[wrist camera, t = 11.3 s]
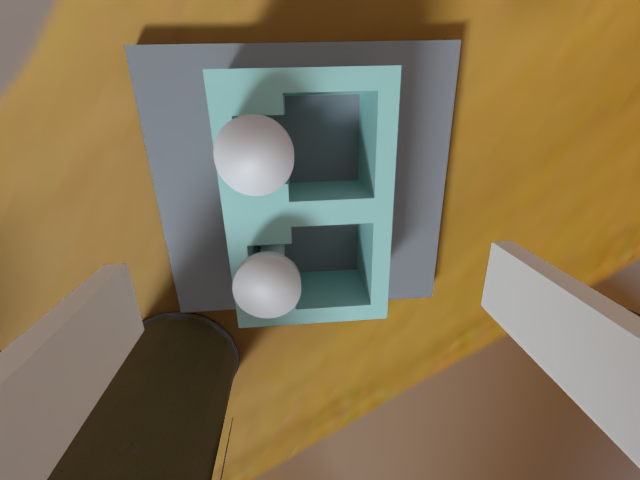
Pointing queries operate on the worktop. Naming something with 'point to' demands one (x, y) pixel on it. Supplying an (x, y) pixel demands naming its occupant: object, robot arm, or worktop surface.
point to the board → (311, 156)
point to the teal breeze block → (317, 187)
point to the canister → (159, 407)
